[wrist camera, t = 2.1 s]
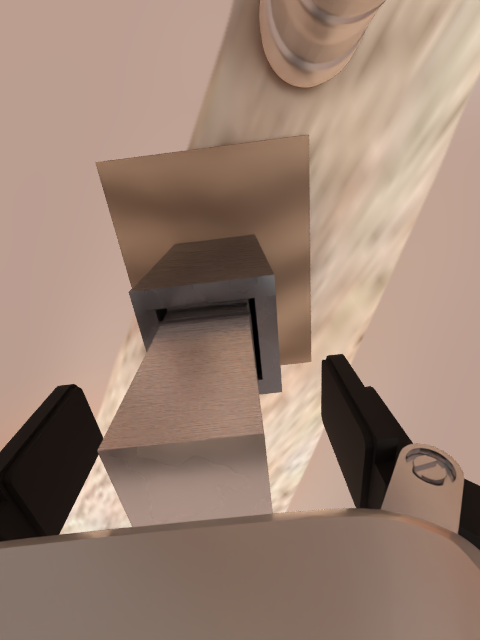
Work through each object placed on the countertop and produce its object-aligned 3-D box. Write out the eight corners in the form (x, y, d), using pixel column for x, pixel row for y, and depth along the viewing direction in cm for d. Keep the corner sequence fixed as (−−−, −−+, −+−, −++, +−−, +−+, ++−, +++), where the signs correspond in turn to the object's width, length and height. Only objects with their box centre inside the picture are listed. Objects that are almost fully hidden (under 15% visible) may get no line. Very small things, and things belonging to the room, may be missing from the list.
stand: (103, 163, 23) (-44, 139, 11) (304, 137, 22) (391, 81, 10) (161, 370, 31) (116, 488, 19) (307, 354, 31) (357, 464, 19)
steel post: (192, 258, 24) (91, 448, 7) (241, 252, 24) (268, 429, 7) (200, 303, 26) (138, 547, 9) (246, 298, 26) (278, 533, 8)
